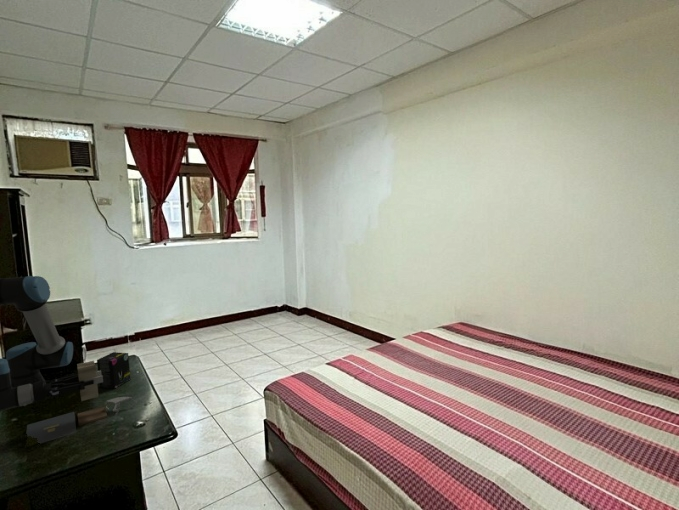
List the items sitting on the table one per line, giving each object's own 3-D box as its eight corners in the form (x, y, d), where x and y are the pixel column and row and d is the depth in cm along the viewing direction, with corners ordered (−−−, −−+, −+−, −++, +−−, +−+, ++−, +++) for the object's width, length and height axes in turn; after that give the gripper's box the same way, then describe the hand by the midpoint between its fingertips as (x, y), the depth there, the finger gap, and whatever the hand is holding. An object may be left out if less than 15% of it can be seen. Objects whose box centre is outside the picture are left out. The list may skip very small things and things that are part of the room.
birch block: (80, 395, 160) (77, 364, 159) (97, 391, 164) (93, 360, 162) (81, 401, 156) (77, 368, 154) (98, 396, 159) (95, 364, 158)
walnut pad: (77, 415, 162) (77, 413, 162) (104, 408, 168) (104, 405, 168) (78, 426, 154) (78, 423, 154) (107, 417, 160) (107, 415, 160)
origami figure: (105, 418, 160) (104, 407, 159) (105, 409, 167) (104, 399, 166) (137, 410, 166) (136, 399, 165) (136, 402, 173) (135, 391, 173)
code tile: (27, 425, 156) (27, 424, 156) (74, 411, 166) (74, 411, 166) (24, 448, 140) (24, 448, 140) (76, 432, 150) (76, 432, 150)
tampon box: (115, 389, 186) (112, 360, 184) (99, 388, 188) (96, 359, 186) (131, 379, 197) (128, 352, 195) (116, 378, 199) (113, 351, 197)
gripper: (35, 393, 156) (100, 377, 170) (33, 411, 141) (105, 392, 155) (33, 375, 155) (99, 361, 169) (30, 392, 140) (103, 375, 154)
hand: (102, 376), depth 162 cm, fingers closed on birch block, 6 cm apart
